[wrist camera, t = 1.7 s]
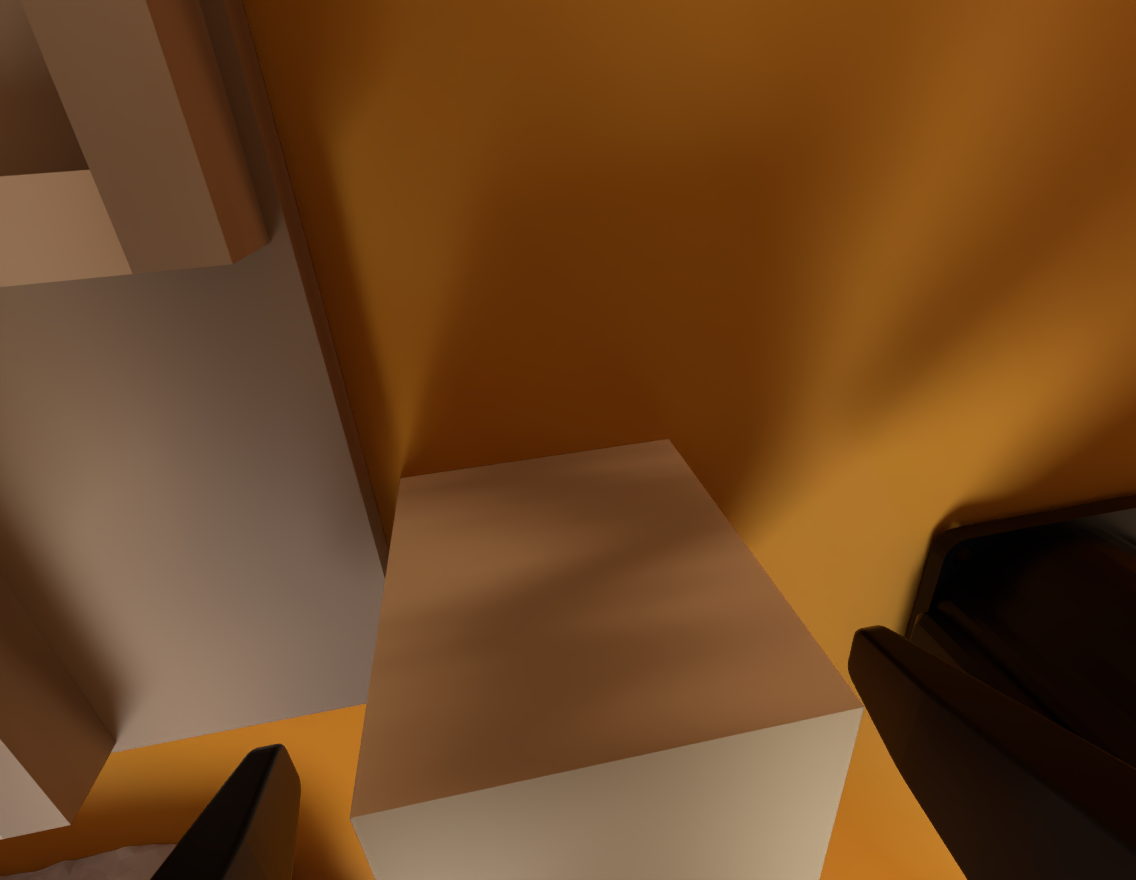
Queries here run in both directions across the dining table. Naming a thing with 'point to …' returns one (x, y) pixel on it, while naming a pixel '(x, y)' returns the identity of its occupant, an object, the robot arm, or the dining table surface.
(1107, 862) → the robot arm
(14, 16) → the walnut base board
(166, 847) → the stone block
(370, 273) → the dining table surface
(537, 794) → the oak block
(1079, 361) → the dining table surface
